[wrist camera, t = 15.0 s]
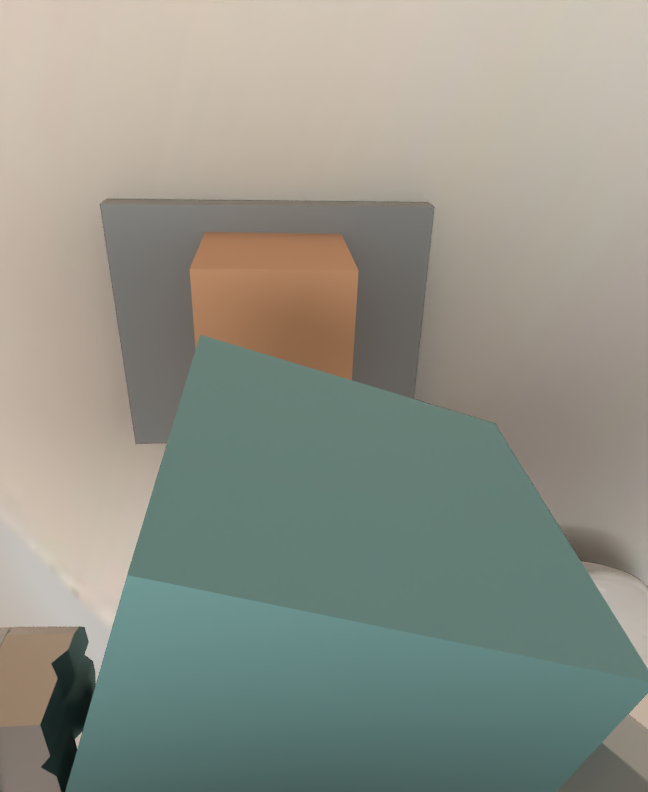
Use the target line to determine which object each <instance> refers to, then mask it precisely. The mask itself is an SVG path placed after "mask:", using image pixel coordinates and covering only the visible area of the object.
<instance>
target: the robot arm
mask: <svg viewBox="0 0 648 792" xmlns="http://www.w3.org/2000/svg"><path fill="white" fill-rule="evenodd" d="M87 645H88V638H87V634H86V631H85V628H84V627H0V792H65V791H66V787H67V784H68V780H69V777H70V773H71V770H72V766H73V763H74V759H75V756H76V752H77V747H76V743H75V738H76V737H77V736H78V735H79V734H80V733H81V732H82V731H83V728H84V725H85V721H86V718H87V714H88V711H89V707H90V704H91V700H92V697H93V693H94V690H95V686H96V683H95V669H94V664H93V661H92V660H90V659H89V658H88V657H86V656H85V655H84V654H85V651H86V648H87ZM556 792H648V729H647V728H646V727H644V726H643V725H642V724H641V723H639V722H638V721H637V720H636V719H634V718H633V717H632V716H630V715H629V714H628V715H627V716H626V717H625V718H624V719H623V720H622V721H621V722H620V724H619V725H618V726H617V727H616V728H615V729H614V730H613V731H612V732H611V733H610V734H609V735H608V736H607V738H606V739H605V740H604V741H603V742H602V743H601V744H600V745H599V746H598V747H597V748H596V749H595V750H594V751H593V753H592V754H591V755H590V756H589V757H588V758H587V759H586V760H585V761H584V762H583V763H582V764H581V765H580V767H579V768H578V769H577V770H576V771H575V772H574V773H573V774H572V775H571V776H570V777H569V778H568V779H567V781H566V782H565V783H564V784H563V785H562V786H561V787H560V788H559V789H558V790H557V791H556Z"/></svg>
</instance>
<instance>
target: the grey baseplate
mask: <svg viewBox="0 0 648 792" xmlns="http://www.w3.org/2000/svg"><path fill="white" fill-rule="evenodd" d="M100 208H101V214H102V221H103V228H104V234H105V241H106V248H107V255H108V261H109V268H110V275H111V281H112V288H113V295H114V301H115V308H116V315H117V322H118V328H119V335H120V342H121V348H122V355H123V362H124V368H125V375H126V382H127V389H128V395H129V402H130V409H131V415H132V422H133V429H134V435H135V442H136V444H152V443H167V442H168V439H169V436H170V432H171V429H172V426H173V423H174V419H175V416H176V413H177V409H178V406H179V403H180V399H181V396H182V393H183V390H184V386H185V383H186V380H187V376H188V373H189V370H190V367H191V363H192V360H193V357H194V353H195V350H196V349H195V335H194V322H193V308H192V295H191V282H190V267H191V264H192V262H193V259H194V257H195V255H196V252H197V250H198V248H199V245H200V243H201V241H202V238H203V236H204V233H205V232H250V233H314V234H342V236H343V238H344V240H345V243H346V245H347V247H348V249H349V251H350V253H351V255H352V258H353V260H354V262H355V264H356V266H357V268H358V270H359V272H358V288H357V304H356V320H355V336H354V352H353V368H352V381H356V382H359V383H362V384H366V385H369V386H372V387H376V388H379V389H382V390H386V391H389V392H392V393H396V394H399V395H402V396H405V397H409V398H412V399H414V391H415V382H416V373H417V363H418V354H419V345H420V336H421V326H422V317H423V308H424V299H425V289H426V280H427V271H428V261H429V252H430V243H431V234H432V224H433V215H434V206H432V205H431V204H430V203H428V202H359V201H259V200H158V199H106V200H105V201H103V202H102V203H101V204H100Z"/></svg>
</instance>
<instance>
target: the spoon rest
mask: <svg viewBox="0 0 648 792" xmlns="http://www.w3.org/2000/svg"><path fill="white" fill-rule="evenodd" d="M581 562H582V564H583V566H584V567H585V569H586V570H587V572H588V574H589V575H590V577H591V578H592V580H593V582H594V583H595V585H596V586H597V588H598V590H599V591H600V593H601V594H602V596H603V598H604V599H605V601H606V603H607V604H608V606H609V607H610V609H611V611H612V612H613V614H614V615H615V617H616V619H617V620H618V622H619V623H620V625H621V627H622V628H623V630H624V631H625V633H626V635H627V636H628V638H629V639H630V641H631V643H632V644H633V646H634V648H635V649H636V651H637V652H638V654H639V656H640V657H641V659H642V660H643V662H644V664H645V665H646V667H647V668H648V587H647V586H646V585H645V584H644V583H643V582H642V581H641V580H640V579H638V578H636V577H635V576H633V575H631V574H629V573H626V572H624V571H621V570H618V569H615V568H612V567H608V566H605V565H601V564H596V563H591V562H583V561H581Z"/></svg>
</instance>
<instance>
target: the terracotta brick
mask: <svg viewBox="0 0 648 792" xmlns="http://www.w3.org/2000/svg"><path fill="white" fill-rule="evenodd" d="M358 272H359V270H358V268H357V266H356V264H355V262H354V260H353V258H352V255H351V253H350V251H349V249H348V247H347V245H346V243H345V240H344V238H343V236H342V234H314V233H250V232H205V233H204V236H203V238H202V241H201V243H200V245H199V248H198V250H197V252H196V255H195V257H194V259H193V262H192V264H191V267H190V282H191V295H192V308H193V322H194V335H195V349H196V347H197V343H198V340H199V337H200V335H203V336H206V337H210V338H213V339H216V340H220V341H223V342H226V343H230V344H233V345H236V346H240V347H243V348H246V349H250V350H253V351H256V352H259V353H263V354H266V355H269V356H273V357H276V358H279V359H283V360H286V361H289V362H293V363H296V364H299V365H303V366H306V367H309V368H313V369H316V370H319V371H323V372H326V373H329V374H332V375H336V376H339V377H342V378H346V379H349V380H352V368H353V352H354V336H355V320H356V304H357V288H358Z"/></svg>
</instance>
